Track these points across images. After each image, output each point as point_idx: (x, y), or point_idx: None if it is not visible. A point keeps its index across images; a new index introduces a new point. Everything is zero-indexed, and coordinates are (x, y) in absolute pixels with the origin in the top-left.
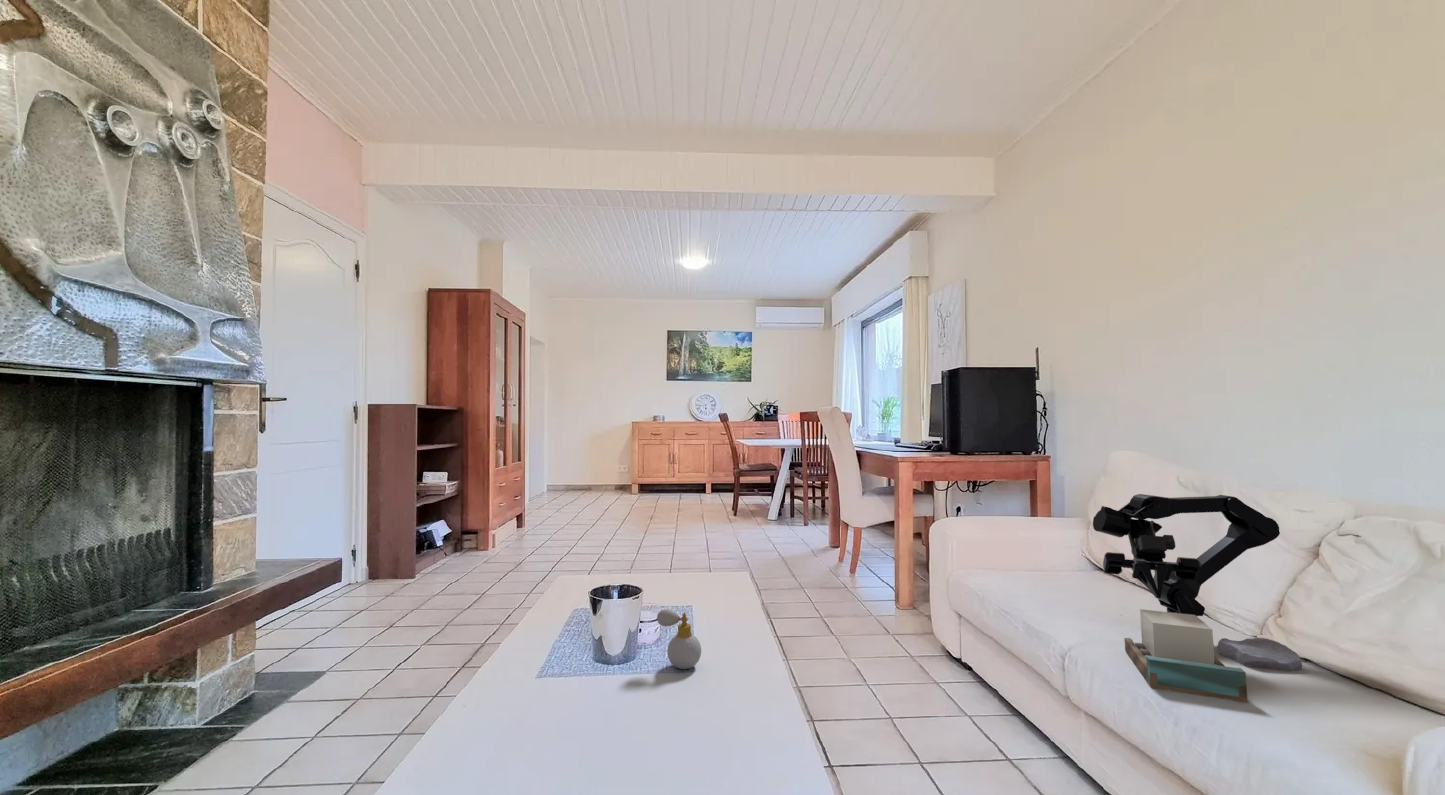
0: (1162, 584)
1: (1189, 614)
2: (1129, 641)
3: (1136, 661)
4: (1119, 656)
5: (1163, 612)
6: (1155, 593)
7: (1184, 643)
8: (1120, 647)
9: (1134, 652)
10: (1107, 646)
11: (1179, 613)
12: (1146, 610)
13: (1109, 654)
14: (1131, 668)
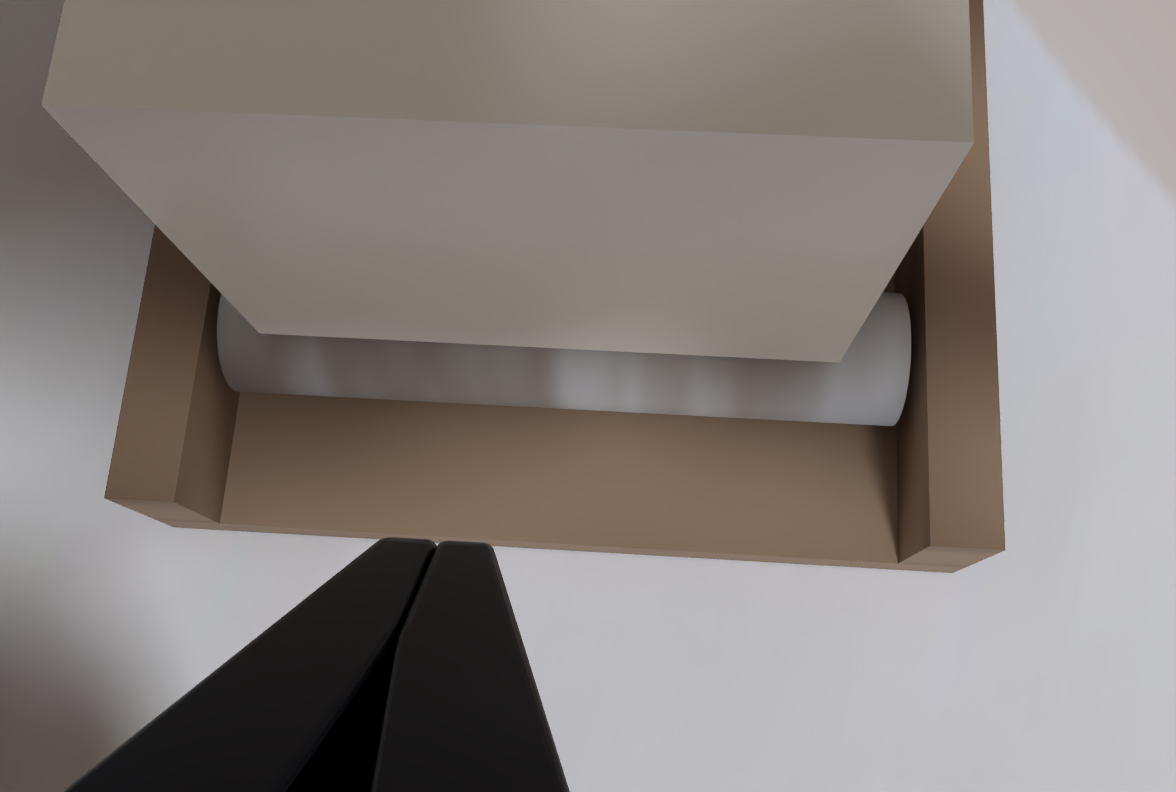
0: (103, 763)
1: (130, 104)
2: (972, 398)
3: None
4: (1045, 356)
5: (580, 67)
6: (502, 589)
7: None
8: (981, 692)
9: (981, 66)
10: (1129, 674)
11: (294, 107)
12: (867, 99)
13: (1141, 383)
14: (989, 55)
